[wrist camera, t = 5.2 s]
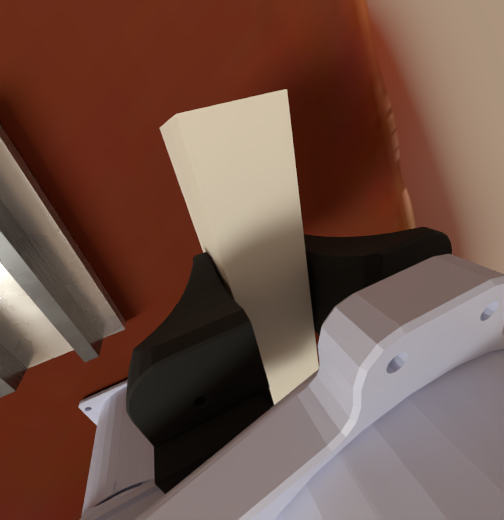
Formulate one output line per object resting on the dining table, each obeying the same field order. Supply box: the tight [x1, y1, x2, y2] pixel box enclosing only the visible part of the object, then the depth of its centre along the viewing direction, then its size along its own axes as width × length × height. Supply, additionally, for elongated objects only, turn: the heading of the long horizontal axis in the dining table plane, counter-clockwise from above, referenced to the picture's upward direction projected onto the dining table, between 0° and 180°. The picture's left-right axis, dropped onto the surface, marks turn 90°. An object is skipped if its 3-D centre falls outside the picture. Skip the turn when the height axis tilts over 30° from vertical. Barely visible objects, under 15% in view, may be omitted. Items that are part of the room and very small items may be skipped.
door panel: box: [160, 89, 319, 405], centre depth 11 cm, size 12×2×7 cm, turn 12°
